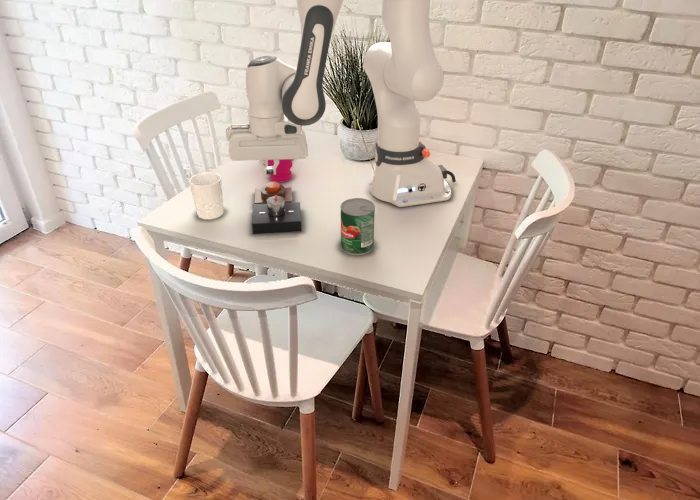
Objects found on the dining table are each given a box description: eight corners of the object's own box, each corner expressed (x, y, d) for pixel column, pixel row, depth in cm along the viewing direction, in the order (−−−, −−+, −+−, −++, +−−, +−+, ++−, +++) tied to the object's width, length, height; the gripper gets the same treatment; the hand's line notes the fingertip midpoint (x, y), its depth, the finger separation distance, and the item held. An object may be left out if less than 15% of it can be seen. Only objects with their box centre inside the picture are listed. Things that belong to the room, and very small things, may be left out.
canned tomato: (335, 250, 132) (334, 210, 126) (348, 234, 138) (348, 195, 132) (366, 258, 130) (367, 217, 124) (378, 241, 136) (380, 201, 130)
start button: (279, 187, 153) (279, 181, 152) (279, 193, 150) (279, 187, 149) (266, 187, 153) (265, 181, 152) (266, 193, 150) (265, 187, 149)
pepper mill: (289, 184, 161) (284, 117, 150) (265, 181, 162) (259, 115, 151) (296, 173, 167) (292, 108, 156) (273, 171, 168) (267, 106, 157)
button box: (291, 192, 157) (291, 181, 155) (292, 206, 150) (291, 195, 148) (255, 194, 156) (254, 183, 154) (254, 208, 149) (253, 196, 147)
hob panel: (300, 211, 148) (299, 201, 146) (301, 231, 139) (301, 220, 138) (254, 214, 147) (253, 203, 145) (252, 234, 138) (251, 223, 137)
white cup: (215, 223, 143) (210, 188, 137) (189, 217, 145) (182, 183, 140) (231, 209, 149) (226, 174, 143) (205, 203, 151) (200, 170, 146)
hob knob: (284, 216, 140) (283, 203, 138) (267, 216, 139) (265, 203, 137) (285, 207, 143) (284, 194, 141) (268, 208, 143) (267, 195, 141)
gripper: (223, 129, 137) (229, 180, 145) (307, 127, 139) (308, 177, 147) (225, 120, 143) (231, 170, 150) (306, 118, 144) (307, 167, 152)
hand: (270, 173), depth 148 cm, fingers closed
